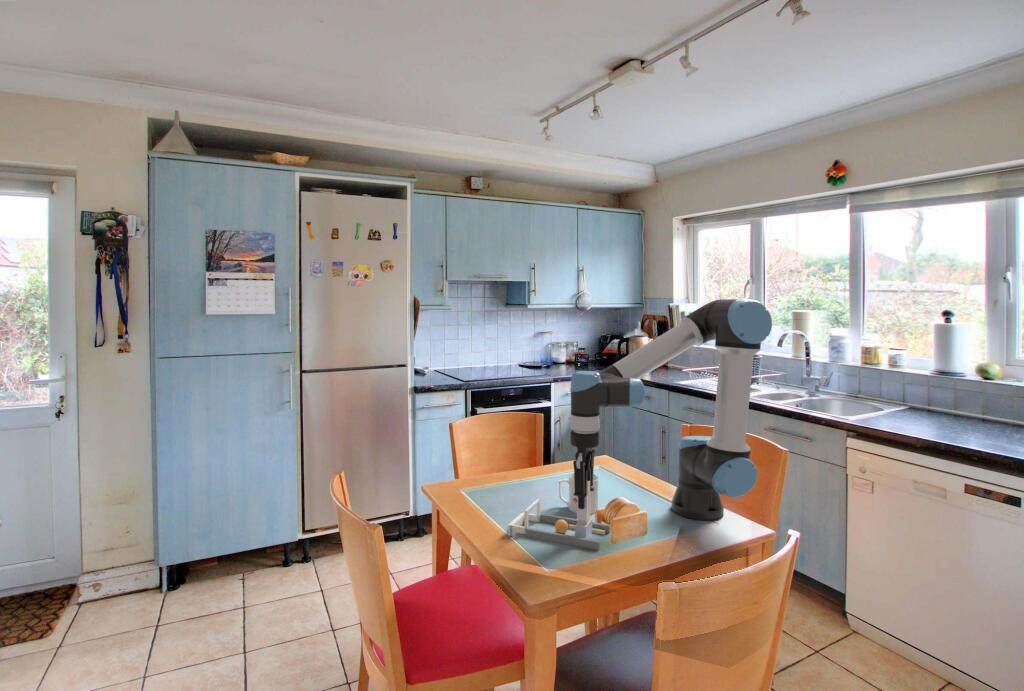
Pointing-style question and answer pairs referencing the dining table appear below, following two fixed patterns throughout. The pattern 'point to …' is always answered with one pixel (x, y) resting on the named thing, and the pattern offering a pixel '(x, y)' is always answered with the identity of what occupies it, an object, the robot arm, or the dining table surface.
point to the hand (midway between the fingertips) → (583, 517)
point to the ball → (561, 526)
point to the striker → (582, 526)
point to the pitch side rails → (568, 539)
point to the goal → (524, 519)
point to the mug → (573, 498)
